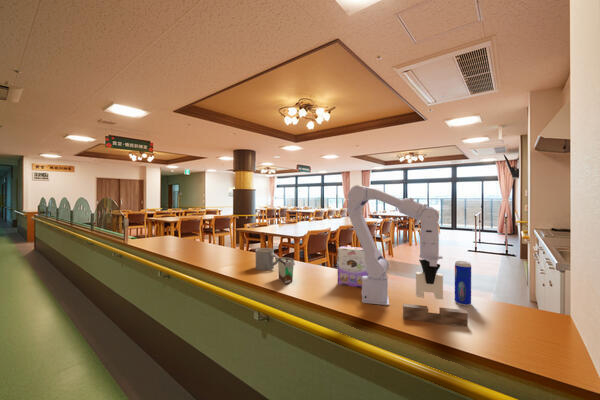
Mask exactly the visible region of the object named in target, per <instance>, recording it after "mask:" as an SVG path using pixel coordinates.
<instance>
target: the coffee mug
mask: <svg viewBox="0 0 600 400" xmlns="http://www.w3.org/2000/svg"><path fill="white" fill-rule="evenodd" d="M278 257H279V256H278V255H277V254H276V253H275V250H274V248H271V247H269V248H268V247H262V248H256V249H255V269H256V270H257V271H270V270H273V269H274V268H275V266H277V264H278Z"/></svg>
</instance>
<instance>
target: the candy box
mask: <svg viewBox="0 0 600 400" xmlns="http://www.w3.org/2000/svg"><path fill="white" fill-rule="evenodd" d="M336 250H337V284H338V285H342V286H349V287H355V288H361V289H362V277H363V276H368V274H367V271H366V263H365V254H364V251H363V249H362V247H358V246H357V247H354V246H346V245H345V246H344V245H343V246H342V245H341V246H339V247H337V249H336Z"/></svg>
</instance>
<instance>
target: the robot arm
mask: <svg viewBox="0 0 600 400" xmlns="http://www.w3.org/2000/svg"><path fill="white" fill-rule="evenodd" d="M370 200H374V201H375V200H377V201H380V202H382V203H386V204H388V205H390V206H393V207H395V208H397V209H398V212H399V213H400V214H402V215H405V216H407V217H409V218H411V219H414V220H416V221H418V220H419V221H420V229H419V232H420V233H419V239H420V240H419V242H420V243H419V255H418V256H419V258H420V259H419V260H418V261H419V263H420V266H421V268H422V272H424V273H425V279H426V283H427V284H434V280H435V276H436V273H438V271H439V269H440V267H441V264H440V263H438V261H439V260H440V259H441V260H442V259H443V256H442V255H439V249H440V247H439V245H440V244H439V243H440V242H439V241H440V239H439V238H440V233H439V232H440V229H439V223H438V222H439V219H440V213H439V211H438V210H437V209H436V208H434V207H432V206H428V204H426V203H424V204H423V203H421V202H417V201H415V199H414V198H412V197H409V198H407V197H405V198H402V199H400V198H398V197H396V196H394V195H392V194H389V193H387V192H384V191H382V190H381V189H377V188H373V187H368V186H367V185H360V184H357V185H354V186H352V187H351V188H350V189H349V191H348V193H347V205H346V206H347V207H346V213H347V215H348V217H349V221H350V223H351V225H352V227H353V229H354V232H355V234H356V237H357V239H358V241H359V243H360V247H361V248H362V249H363V251H364V254H365V263H366V271H367V274H368V276H363V277H362V288H361V292H360V293H361V302H362V304H370V305H373V304H374V305H381V306H389V305H390V301H389V296H388V294H389V291H388V287H389V286H388V283H389V282H388V279H389V278H388V275H387V272H388V269H389V263H388V260H387V259H386V258H385V257H384V256H383V255H382V252H381V251H380V250H379V249H378V247H377V245H376V243H375V240H374V237H373V235H372V233H371V231H370V228H369V226H368V223H367V222H366V219H365V217H364V215H363V212H362V211H363V209H364V207H365V205H366V204H367V203H368V202H369V201H370Z"/></svg>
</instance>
